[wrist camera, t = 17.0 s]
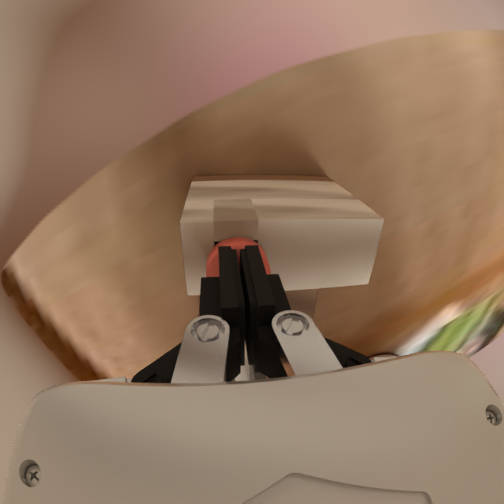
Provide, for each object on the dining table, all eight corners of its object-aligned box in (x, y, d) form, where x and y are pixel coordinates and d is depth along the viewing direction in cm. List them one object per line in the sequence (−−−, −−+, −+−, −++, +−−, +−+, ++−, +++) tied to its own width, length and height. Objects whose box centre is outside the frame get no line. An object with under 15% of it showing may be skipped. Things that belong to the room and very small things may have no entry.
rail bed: (296, 366, 31) (314, 427, 24) (210, 373, 30) (213, 438, 23) (327, 176, 21) (384, 219, 13) (193, 176, 20) (179, 222, 12)
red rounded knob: (257, 257, 17) (269, 300, 13) (208, 259, 16) (208, 303, 13) (259, 211, 15) (272, 246, 12) (206, 213, 15) (204, 249, 11)
